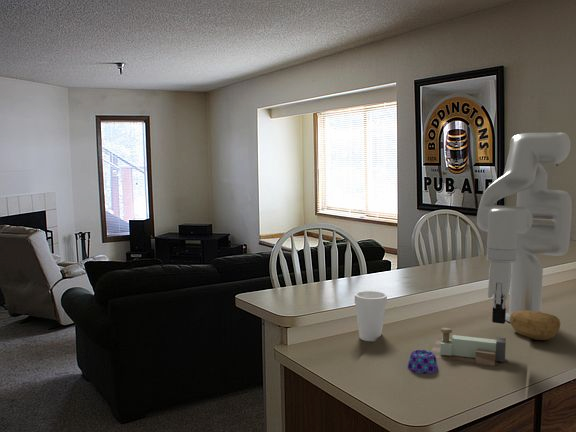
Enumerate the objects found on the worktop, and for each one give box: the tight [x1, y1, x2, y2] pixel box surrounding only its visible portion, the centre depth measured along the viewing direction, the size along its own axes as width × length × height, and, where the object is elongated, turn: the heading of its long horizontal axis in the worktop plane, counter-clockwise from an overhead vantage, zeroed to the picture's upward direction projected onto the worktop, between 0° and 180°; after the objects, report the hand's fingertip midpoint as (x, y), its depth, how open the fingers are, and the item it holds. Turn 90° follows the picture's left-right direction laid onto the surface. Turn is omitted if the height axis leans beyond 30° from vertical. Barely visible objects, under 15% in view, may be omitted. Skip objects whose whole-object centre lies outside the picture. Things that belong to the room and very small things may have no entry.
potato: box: [509, 310, 561, 341], centre depth 164 cm, size 10×14×8 cm
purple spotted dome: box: [407, 349, 439, 375], centre depth 140 cm, size 12×12×5 cm
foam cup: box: [354, 290, 388, 342], centre depth 166 cm, size 10×9×13 cm
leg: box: [440, 334, 507, 363], centre depth 147 cm, size 16×4×5 cm, turn 68°
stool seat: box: [430, 327, 499, 367], centre depth 151 cm, size 16×17×8 cm
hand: (498, 322), depth 151 cm, fingers closed
